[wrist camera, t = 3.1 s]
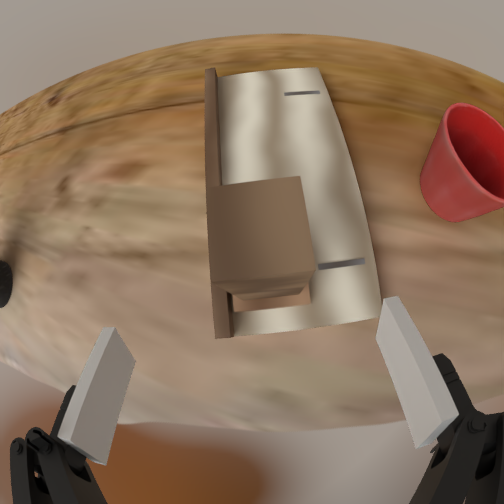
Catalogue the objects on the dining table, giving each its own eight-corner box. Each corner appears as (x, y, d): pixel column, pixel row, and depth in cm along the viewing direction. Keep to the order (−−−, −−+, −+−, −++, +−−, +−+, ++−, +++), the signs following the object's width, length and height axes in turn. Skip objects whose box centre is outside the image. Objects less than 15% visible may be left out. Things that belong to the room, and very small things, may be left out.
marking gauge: (306, 234, 24) (325, 158, 13) (315, 303, 23) (350, 284, 11) (230, 243, 25) (189, 176, 13) (236, 312, 23) (193, 302, 12)
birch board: (316, 78, 31) (318, 57, 28) (375, 316, 24) (390, 315, 20) (211, 89, 32) (205, 69, 29) (224, 336, 25) (215, 338, 21)
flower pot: (390, 187, 27) (426, 134, 17) (430, 137, 28) (462, 88, 18) (456, 256, 24) (513, 228, 15) (488, 195, 25) (532, 159, 16)
